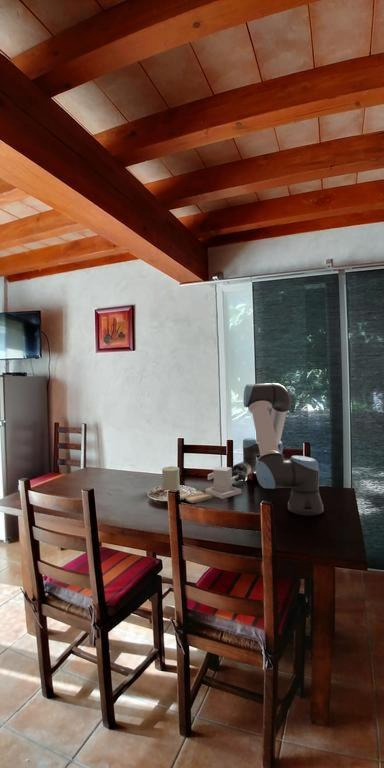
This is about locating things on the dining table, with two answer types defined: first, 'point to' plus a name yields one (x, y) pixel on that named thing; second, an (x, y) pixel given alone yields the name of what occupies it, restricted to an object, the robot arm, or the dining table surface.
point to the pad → (196, 496)
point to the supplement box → (222, 479)
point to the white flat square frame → (223, 495)
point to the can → (170, 478)
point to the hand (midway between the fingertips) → (219, 479)
